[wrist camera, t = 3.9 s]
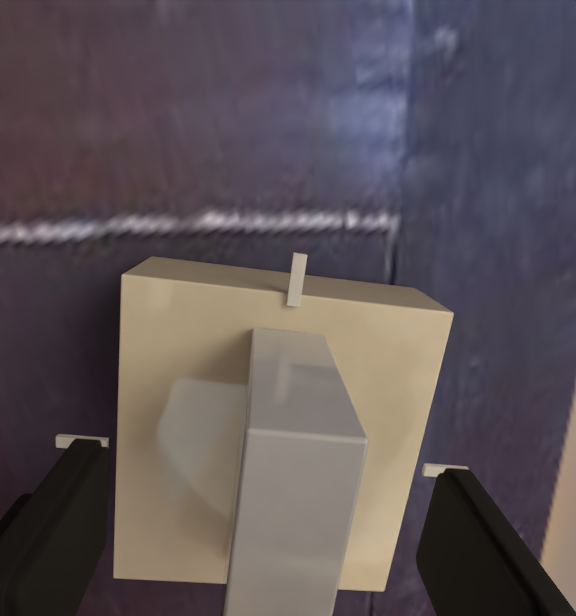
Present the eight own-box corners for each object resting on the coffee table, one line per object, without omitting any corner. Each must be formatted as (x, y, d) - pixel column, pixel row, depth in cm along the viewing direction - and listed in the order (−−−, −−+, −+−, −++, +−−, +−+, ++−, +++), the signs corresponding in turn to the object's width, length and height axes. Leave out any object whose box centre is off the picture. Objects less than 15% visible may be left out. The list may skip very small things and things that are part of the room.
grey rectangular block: (252, 326, 11) (244, 438, 6) (325, 333, 11) (375, 449, 6) (224, 561, 13) (202, 788, 8) (286, 565, 13) (301, 789, 8)
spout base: (100, 215, 13) (51, 223, 10) (468, 262, 14) (524, 282, 11) (96, 529, 16) (58, 607, 13) (396, 548, 17) (424, 623, 14)
